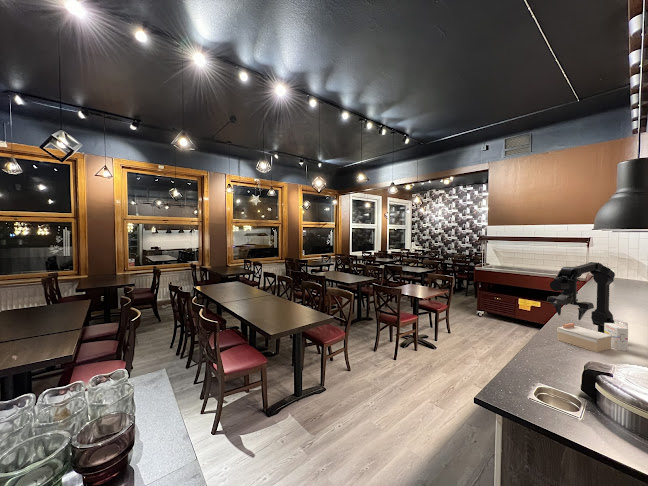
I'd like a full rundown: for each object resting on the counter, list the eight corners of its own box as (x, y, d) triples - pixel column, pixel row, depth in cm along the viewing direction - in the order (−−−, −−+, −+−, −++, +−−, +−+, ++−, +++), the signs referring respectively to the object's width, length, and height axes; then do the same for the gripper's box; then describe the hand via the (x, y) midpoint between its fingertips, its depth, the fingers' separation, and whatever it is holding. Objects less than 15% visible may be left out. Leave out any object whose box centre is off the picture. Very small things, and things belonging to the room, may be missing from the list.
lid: (571, 328, 155) (572, 321, 155) (611, 339, 139) (612, 331, 139) (556, 331, 151) (556, 324, 151) (596, 342, 134) (596, 334, 134)
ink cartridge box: (602, 343, 145) (603, 317, 145) (613, 344, 144) (614, 317, 144) (616, 350, 137) (617, 322, 136) (628, 351, 136) (629, 322, 135)
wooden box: (570, 336, 155) (571, 326, 155) (610, 348, 139) (611, 337, 139) (557, 339, 151) (557, 329, 151) (596, 352, 135) (597, 340, 135)
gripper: (541, 288, 153) (541, 314, 154) (582, 294, 136) (581, 324, 136) (553, 286, 157) (553, 312, 158) (594, 292, 140) (594, 321, 140)
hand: (569, 317), depth 148 cm, fingers open, 9 cm apart
